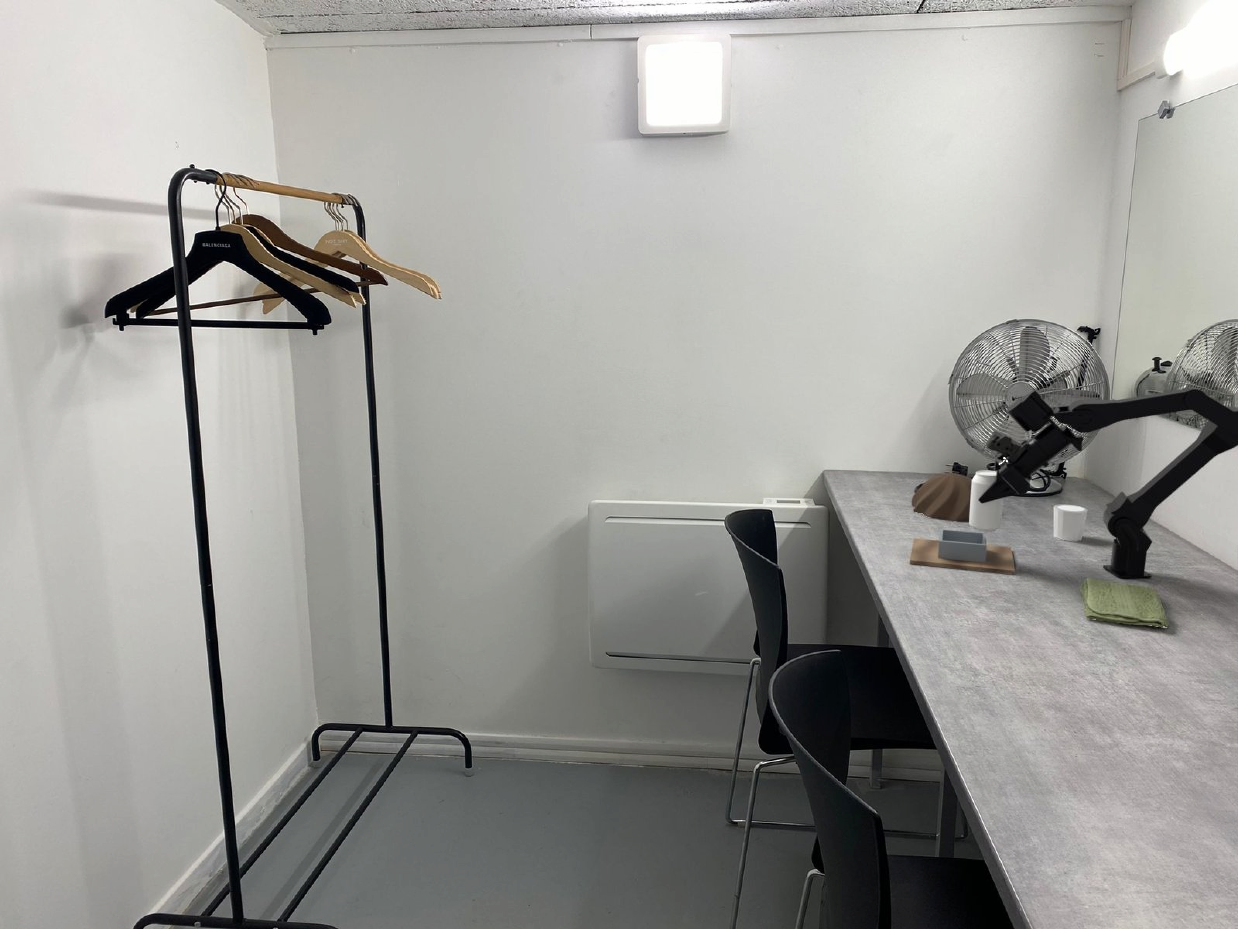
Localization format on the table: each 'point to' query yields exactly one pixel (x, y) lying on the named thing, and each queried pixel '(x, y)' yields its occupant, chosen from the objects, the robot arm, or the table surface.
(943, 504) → the decorative dome
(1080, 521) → the white tapered cup
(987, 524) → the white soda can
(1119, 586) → the washcloth
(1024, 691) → the table surface
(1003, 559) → the brown slab
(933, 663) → the table surface
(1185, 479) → the robot arm
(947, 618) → the table surface
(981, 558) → the gray square open box
